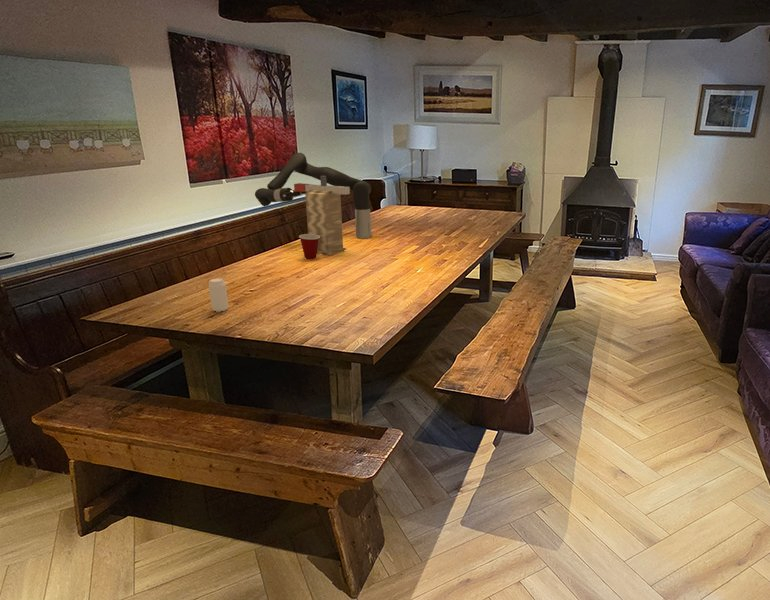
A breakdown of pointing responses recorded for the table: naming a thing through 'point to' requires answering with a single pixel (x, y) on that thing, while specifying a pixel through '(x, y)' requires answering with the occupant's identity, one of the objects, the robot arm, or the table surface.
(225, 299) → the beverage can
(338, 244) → the stand
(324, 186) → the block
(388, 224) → the table surface
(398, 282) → the table surface
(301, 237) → the plastic cup
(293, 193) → the robot arm
